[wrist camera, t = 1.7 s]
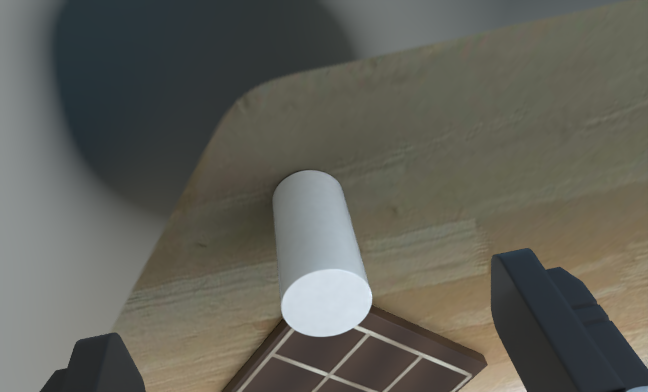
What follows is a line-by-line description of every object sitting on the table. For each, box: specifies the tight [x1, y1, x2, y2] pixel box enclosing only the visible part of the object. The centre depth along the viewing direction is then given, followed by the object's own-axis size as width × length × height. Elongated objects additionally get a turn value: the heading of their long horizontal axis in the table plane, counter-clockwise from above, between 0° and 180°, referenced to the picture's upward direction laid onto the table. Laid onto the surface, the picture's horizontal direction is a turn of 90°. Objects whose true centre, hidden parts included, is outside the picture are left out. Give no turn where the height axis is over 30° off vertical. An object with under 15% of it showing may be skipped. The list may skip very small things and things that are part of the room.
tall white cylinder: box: [272, 170, 372, 337], centre depth 31 cm, size 4×4×9 cm
